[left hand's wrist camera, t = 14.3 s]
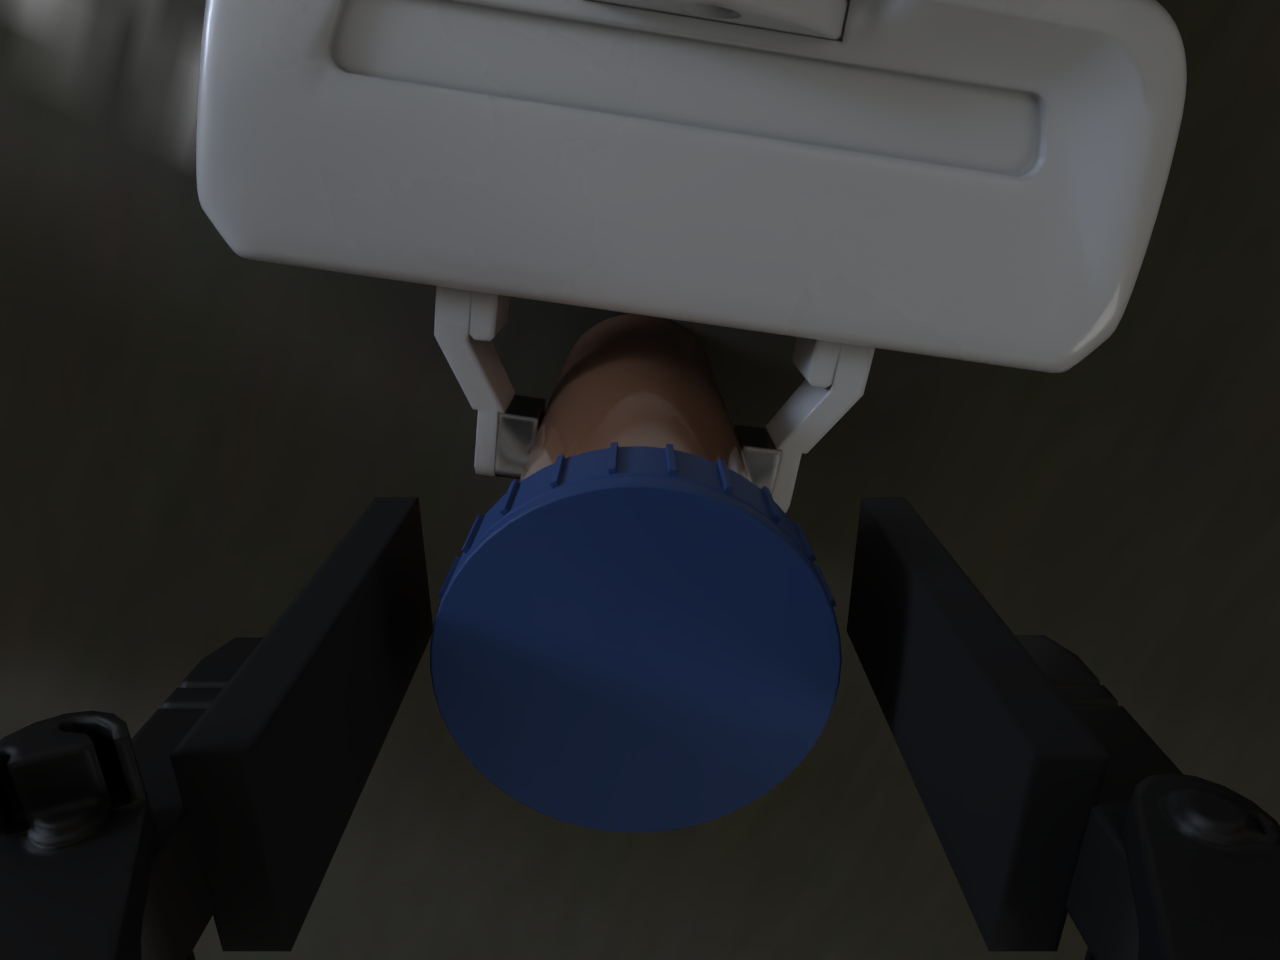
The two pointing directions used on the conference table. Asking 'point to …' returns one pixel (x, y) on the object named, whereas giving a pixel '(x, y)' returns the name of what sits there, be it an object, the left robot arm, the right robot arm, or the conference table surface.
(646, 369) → the jar
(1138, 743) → the left robot arm
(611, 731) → the lid
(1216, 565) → the conference table surface
